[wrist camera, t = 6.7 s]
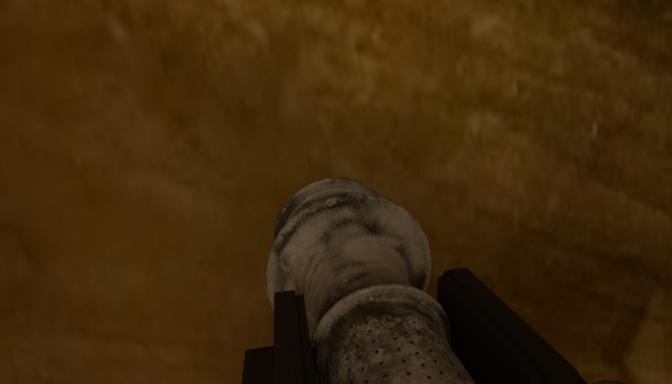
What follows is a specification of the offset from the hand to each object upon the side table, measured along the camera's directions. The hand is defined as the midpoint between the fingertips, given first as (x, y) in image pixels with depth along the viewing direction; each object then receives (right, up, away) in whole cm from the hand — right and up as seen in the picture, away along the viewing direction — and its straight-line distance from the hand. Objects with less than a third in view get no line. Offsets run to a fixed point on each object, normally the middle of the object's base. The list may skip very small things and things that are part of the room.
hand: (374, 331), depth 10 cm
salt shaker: (-1, +2, +6) cm, 7 cm away
